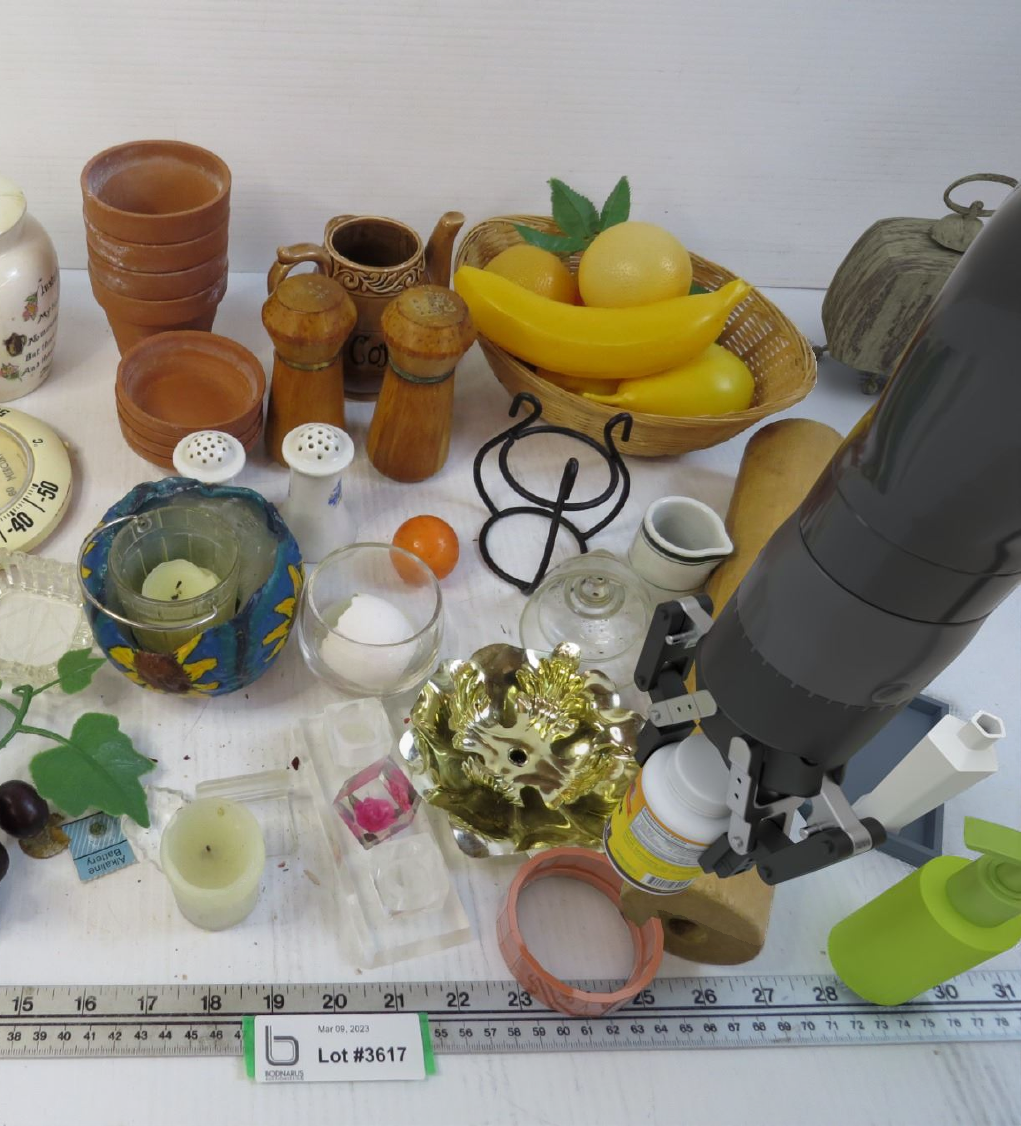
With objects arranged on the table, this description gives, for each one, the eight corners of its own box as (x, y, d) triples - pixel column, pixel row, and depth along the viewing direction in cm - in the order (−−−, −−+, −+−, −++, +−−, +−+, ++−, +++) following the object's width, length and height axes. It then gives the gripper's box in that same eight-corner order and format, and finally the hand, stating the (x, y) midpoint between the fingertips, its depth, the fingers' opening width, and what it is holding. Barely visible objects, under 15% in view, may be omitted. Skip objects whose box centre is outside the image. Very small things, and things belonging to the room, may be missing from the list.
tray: (925, 871, 73) (941, 860, 71) (787, 812, 76) (800, 800, 74) (935, 717, 82) (949, 704, 80) (811, 669, 84) (823, 656, 83)
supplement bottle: (644, 789, 58) (710, 700, 50) (718, 865, 55) (800, 782, 47) (578, 837, 55) (636, 751, 48) (651, 918, 53) (725, 841, 45)
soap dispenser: (807, 905, 71) (970, 782, 55) (906, 948, 69) (1103, 834, 54) (797, 979, 67) (969, 871, 52) (901, 1027, 66) (1111, 929, 50)
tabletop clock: (920, 368, 112) (1066, 164, 93) (936, 418, 107) (1095, 213, 87) (793, 346, 114) (909, 142, 94) (802, 395, 108) (928, 189, 89)
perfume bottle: (833, 827, 75) (946, 732, 63) (847, 785, 77) (958, 686, 65) (894, 860, 73) (1021, 769, 62) (907, 817, 75) (1031, 721, 64)
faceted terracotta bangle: (667, 996, 66) (694, 975, 62) (533, 1043, 64) (552, 1024, 60) (592, 857, 73) (613, 829, 69) (468, 895, 70) (482, 869, 66)
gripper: (1054, 753, 34) (828, 919, 47) (802, 478, 43) (669, 682, 56) (884, 808, 33) (698, 964, 46) (657, 511, 41) (555, 713, 54)
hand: (682, 808), depth 51 cm, fingers closed on supplement bottle, 5 cm apart
